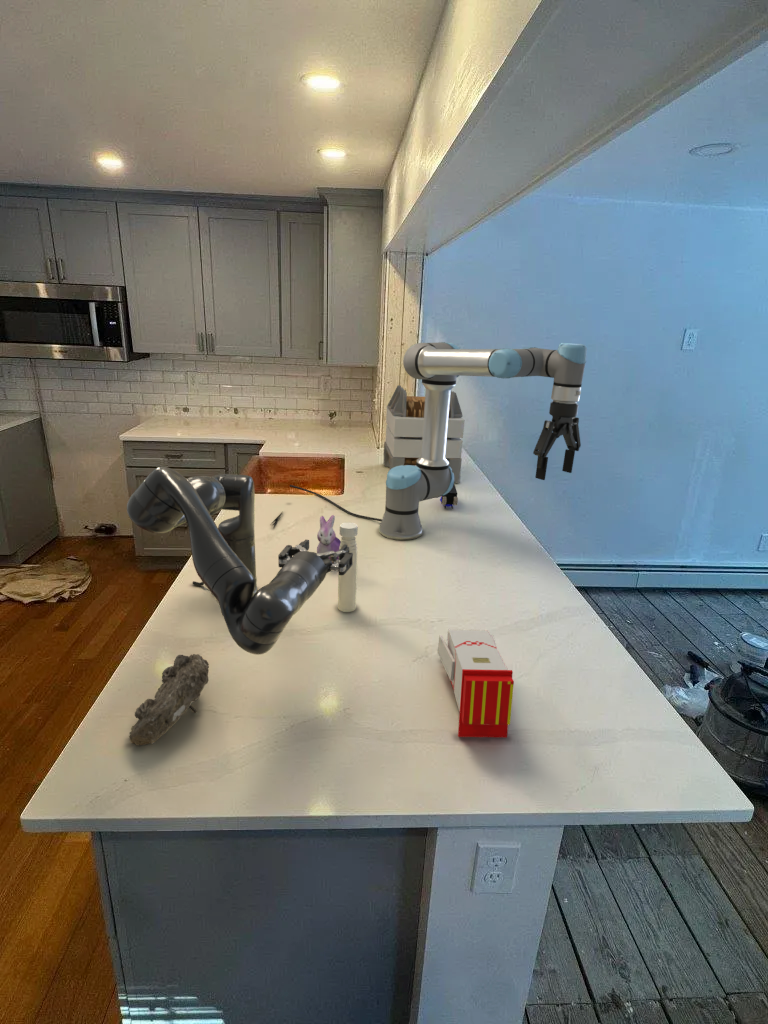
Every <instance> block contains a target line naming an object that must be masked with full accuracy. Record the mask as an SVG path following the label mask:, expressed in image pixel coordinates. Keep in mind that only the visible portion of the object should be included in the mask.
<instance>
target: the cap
mask: <svg viewBox="0 0 768 1024" xmlns="http://www.w3.org/2000/svg"><path fill="white" fill-rule="evenodd" d="M358 527H359V526H358V524H357V523H355V522H351V521H349V522H346V521H345V522H342V523H340V524H339V535H340V536H341V537H342V536H343V537H355V538H356V537H357V536H358V533H359V532H358V531H359V528H358Z"/></svg>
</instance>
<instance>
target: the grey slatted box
mask: <svg viewBox="0 0 768 1024" xmlns="http://www.w3.org/2000/svg"><path fill="white" fill-rule="evenodd" d="M407 394H408V393H407V390H406V389H404V388H403V387H402V385H399V384H398V385H397V386H396V388H395V390H394V392H393V394H392V395H391V398H390V400H389V402H388V404H387V405H386V413H385V414H386V415H385V423H386V428H385V438H384V442H383V466H384V467H388V468H389V470H390V469H392V468H394V467H396V466H401V465H404V466H405V465H413V466H416V461H417V459H418V458H420V457H421V450H422V436H423V421H424V407H425V396H415V395H414V396H413V395H412V396H411V395H407ZM464 429H465V419H464V418H463V411H462V408H461V405H460V402H459V398H458V395H457V392H455V391H453V390H451V394H450V406H449V418H448V430H447V442H446V454H445V458H446V459H447V461H448V462H449V466H450V467H451V469H452V473H454V484H455V483H456V484H459V483H461V472H462V461H463V460H462V453H463V442H464V441H463V440H462V439H463V438H464V431H465V430H464Z"/></svg>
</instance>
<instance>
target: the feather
mask: <svg viewBox="0 0 768 1024" xmlns="http://www.w3.org/2000/svg"><path fill="white" fill-rule="evenodd" d="M282 514H283V512H280V514H279V515H278V516H277V517H275V519H274V520H273V521H272V522H271V524H270V526H272V525H273V529H274V528H275V526H276V524H277V523H278V521H279V520H280V518H281V516H282Z"/></svg>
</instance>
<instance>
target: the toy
mask: <svg viewBox="0 0 768 1024" xmlns="http://www.w3.org/2000/svg"><path fill="white" fill-rule="evenodd" d="M446 640H447V643H446V641H445V639H444V636H443V635H442V634H439V637H438V646H437V656H438V657H439V659H440V661H441V663H442V666H443V668H444V670H445V672H446V674H447V677H448V679H449V681H450V684H451V687H452V690H453V693H454V697H455V701H456V705H457V708H458V711H459V714H458V715H459V716H458V730H457V731H458V732H457V737H458V738H508V731H509V726H510V725H511V717H512V707H513V697H514V696H513V695H514V684H515V680H514V679H513V673H514V671H513V670H512V669H508V667H507V665H506V662H505V661H504V659H503V658H502V655H501V653H500V651H499V649H498V647H497V643H496V639H495V637H494V635H493V634H491V632H490V631H489V629H467V628H466V629H465V628H463V629H461V628H460V629H459V628H448V630H447V639H446Z"/></svg>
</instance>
